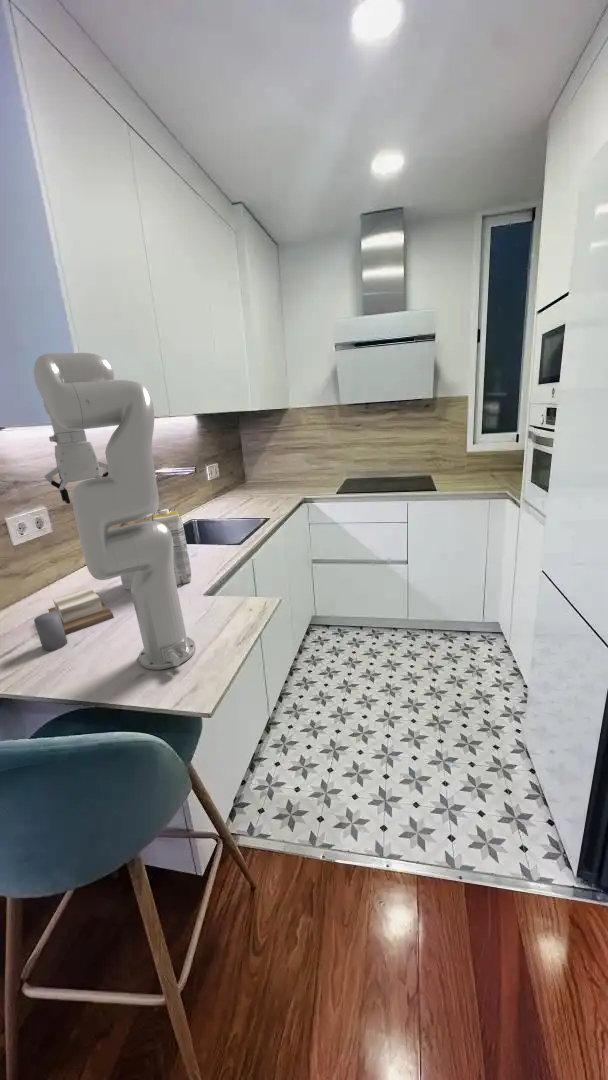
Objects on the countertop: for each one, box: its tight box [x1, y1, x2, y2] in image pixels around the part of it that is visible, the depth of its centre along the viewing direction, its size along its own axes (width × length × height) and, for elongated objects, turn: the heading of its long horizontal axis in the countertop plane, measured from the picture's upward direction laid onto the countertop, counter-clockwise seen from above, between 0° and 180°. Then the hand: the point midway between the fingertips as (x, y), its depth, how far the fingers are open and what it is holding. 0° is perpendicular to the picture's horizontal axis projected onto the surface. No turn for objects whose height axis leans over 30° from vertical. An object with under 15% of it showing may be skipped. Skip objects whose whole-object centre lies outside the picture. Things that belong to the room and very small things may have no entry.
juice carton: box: [151, 508, 192, 586], centre depth 140 cm, size 9×8×24 cm
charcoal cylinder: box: [33, 611, 68, 652], centre depth 109 cm, size 6×6×8 cm
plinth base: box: [47, 587, 114, 635], centre depth 124 cm, size 18×13×6 cm
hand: (86, 499), depth 126 cm, fingers open, 9 cm apart
